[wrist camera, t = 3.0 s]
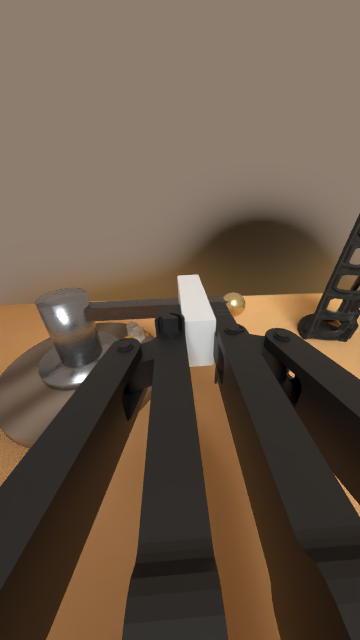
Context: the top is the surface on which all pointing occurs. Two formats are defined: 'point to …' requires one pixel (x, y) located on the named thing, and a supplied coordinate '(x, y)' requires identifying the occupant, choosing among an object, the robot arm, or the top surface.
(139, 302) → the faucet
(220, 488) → the top surface
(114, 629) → the top surface
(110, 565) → the top surface
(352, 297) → the holder
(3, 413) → the dial base
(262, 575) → the top surface
